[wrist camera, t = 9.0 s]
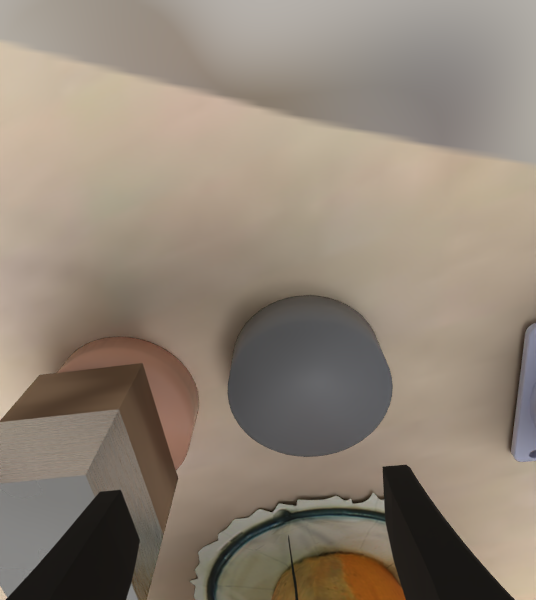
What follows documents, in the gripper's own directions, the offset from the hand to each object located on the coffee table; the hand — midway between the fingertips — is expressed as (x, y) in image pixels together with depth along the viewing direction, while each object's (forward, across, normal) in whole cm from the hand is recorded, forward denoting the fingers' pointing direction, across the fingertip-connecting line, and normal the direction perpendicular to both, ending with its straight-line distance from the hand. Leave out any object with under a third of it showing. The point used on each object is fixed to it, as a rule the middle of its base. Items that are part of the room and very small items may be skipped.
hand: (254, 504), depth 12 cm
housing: (+7, +7, +2) cm, 10 cm away
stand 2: (+9, -2, +2) cm, 10 cm away
